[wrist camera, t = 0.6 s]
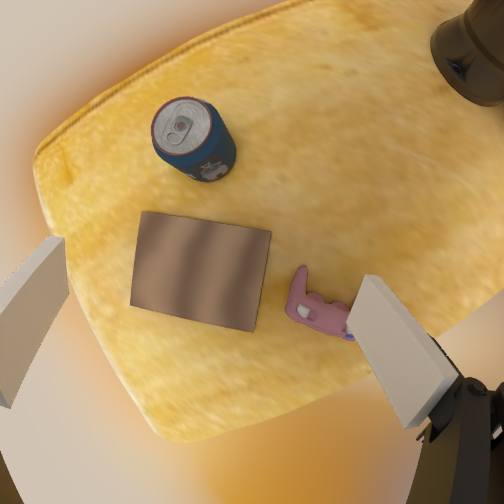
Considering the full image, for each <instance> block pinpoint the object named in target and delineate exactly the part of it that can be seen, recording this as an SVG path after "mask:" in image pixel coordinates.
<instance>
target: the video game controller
mask: <svg viewBox="0 0 504 504" xmlns="http://www.w3.org/2000/svg"><path fill="white" fill-rule="evenodd" d="M307 275H308V271H307V267H306V266H305V265H302V266H301V267H300V268H299V269H298V270H297V272H296V274H295V276H294V278H293V281H292V284H291V287H290V291H289V296H288V302H287V304H286V306H285V312H286V314H287V315H288V316H289V317H290V318H291V319H292V320H294V321H296V322H299V323H303V324H305V325H307V326H309V327H311V328H313V329H315V330H317V331H320V332H322V333H325V334H329V335H332V336H337V337H342V338H343V339H345V340H349V341H355V340H356V339H355V338H354V336H353V334H352V332H351V331H350V329H349V327H348V325H347V324H346V321H347V319H348V316H349V314H350V311H349V310H348V308H347V306H346V305H345V304H343V303H341V302H337V301H335V302H333V303H332V304H327V303H324V302H325V301H324V299H323V297H321V296H320V295H319V294H317V293H313V292H312V293H309V294H307V295H306V281H307Z"/></svg>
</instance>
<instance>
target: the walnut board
mask: <svg viewBox="0 0 504 504" xmlns="http://www.w3.org/2000/svg"><path fill="white" fill-rule="evenodd" d="M270 237H271V232H270V231H264V230H258V229H252V228H246V227H240V226H234V225H228V224H222V223H216V222H209V221H203V220H197V219H190V218H184V217H178V216H171V215H164V214H158V213H151V212H144V211H142V212H141V219H140V225H139V232H138V239H137V246H136V253H135V261H134V270H133V279H132V288H131V299H130V305H131V306H135V307H139V308H143V309H147V310H151V311H155V312H159V313H163V314H167V315H171V316H176V317H180V318H184V319H189V320H193V321H198V322H202V323H207V324H212V325H217V326H221V327H226V328H231V329H236V330H242V331H247V332H252V333H253V332H254V329H255V323H256V318H257V312H258V307H259V301H260V295H261V290H262V284H263V278H264V272H265V267H266V261H267V255H268V249H269V243H270Z"/></svg>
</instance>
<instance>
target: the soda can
mask: <svg viewBox="0 0 504 504" xmlns="http://www.w3.org/2000/svg"><path fill="white" fill-rule="evenodd" d="M151 136H152V142H153V146H154V149H155V151H156V153H157V154H158V155H159V156H160V157H161V158H162V159H163V160H164V161H166V162H167V163H169V164H170V165H172V166H174V167H175V168H177V169H178V170H180V171H181V172H183V173H184V174H186V175H188V176H189V177H191V178H192V179H194V180H197V181H202V182H209V181H214V180H217V179H219V178H221V177H222V176H224V175H225V174H226V173H227V172H228V171H229V170H230V168H231V167H232V165H233V163H234V160H235V156H236V148H235V144H234V141H233V139H232V137H231V135H230V134H229V132H228V130H227V128H226V126H225V124H224V122H223V120H222V119H221V117H220V115H219V113H218V111H217V110H216V109H215V108H214V107H213V106H212V105H211V104H210V103H208V102H206V101H204V100H201V99H197V98H193V97H178V98H175V99H172V100H170V101H168V102H167V103H165V104H164V105H163V106H162V107H161V108H160V109H159V110H158V111H157V113H156V114H155V116H154V118H153V121H152V125H151Z"/></svg>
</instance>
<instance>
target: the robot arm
mask: <svg viewBox="0 0 504 504" xmlns="http://www.w3.org/2000/svg"><path fill="white" fill-rule="evenodd" d="M431 51H432V55H433V58H434V60H435V62H436V64H437V66H438V68H439V70H440V71H441V73H442V74H443V76H444V77H445V78H446V80H447V81H448V82H449V83H450V84H451V85H452V86H453V87H454V88H455V89H456V90H457V91H458V92H459V93H460V94H461V95H463V96H464V97H465V98H467V99H469V100H470V101H472V102H474V103H476V104H479V105H482V106H488V107H491V106H496V105H498V104H499V103H501V102H503V101H504V0H474V1H473V2H472V4H471V5H470V6H469V8H468V9H467V10H466V11H465V12H464V13H463V14H461V15H459V16H457V17H455V18H453V19H451V20H448V21H445V22H443V23H442V24H441V25H440V26H439V27H438V28H437V29H436V31H435V32H434V34H433V35H432V38H431ZM68 295H69V288H68V279H67V269H66V257H65V241H64V237H57V236H48V237H47V238H46V239H45V240H44V241H43V242H42V243H41V244H40V245H39V246H38V247H37V248H36V249H35V250H34V251H33V252H32V253H31V254H30V255H29V256H28V257H27V258H26V259H25V261H23V263H22V264H21V265H20V266H19V267H18V268H17V269H16V270H15V271H14V272H13V273H12V275H11V276H10V277H9V278H8V279H7V280H6V281H5V282H4V284H3V285H2V286H1V287H0V406H3V407H6V408H9V409H11V406H12V404H13V401H14V399H15V397H16V395H17V392H18V390H19V388H20V386H21V384H22V381H23V379H24V377H25V375H26V373H27V371H28V369H29V367H30V365H31V363H32V361H33V359H34V357H35V354H36V353H37V351H38V349H39V347H40V345H41V343H42V341H43V339H44V337H45V335H46V334H47V332H48V330H49V328H50V326H51V324H52V323H53V321H54V319H55V317H56V316H57V314H58V312H59V310H60V309H61V307H62V305H63V303H64V302H65V300H66V298H67V297H68ZM346 324H347V325H348V327H349V329H350V331H351V332H352V334H353V336H354V338H355V339H356V341H357V343H358V345H359V346H360V348H361V350H362V352H363V354H364V355H365V357H366V359H367V361H368V363H369V364H370V366H371V368H372V370H373V372H374V373H375V375H376V377H377V379H378V381H379V383H380V384H381V386H382V388H383V390H384V392H385V394H386V396H387V398H388V400H389V401H390V403H391V405H392V407H393V409H394V411H395V413H396V415H397V417H398V418H399V421H400V422H401V424H402V426H403V428H404V429H408V428H413V427H416V426H419V425H420V424H421V423H422V422H423V421H424V419H425V418H426V417H427V416H428V417H429V418H430V420H431V422H430V423H429V424H428V425H427V426H426V428H425V429H424V430H423V431H422V432H421V433H420V434H419V435H418V437H417V439H416V440H417V441H418V440H419V439H420V438H421V437H422V436H425V437H424V440H423V441H422V443H423V445H422V449H421V454H420V458H419V462H418V465H417V469H416V473H415V477H414V480H413V483H412V486H411V490H410V493H409V496H408V499H407V502H406V504H504V382H502V383H501V384H500V385H499V387H498V388H497V389H496V391H490V390H488V389H487V388H486V386H485V385H484V384H483V383H482V382H480V381H479V380H477V379H475V378H472V377H468V378H464V376H463V375H462V374H461V372H460V371H459V370H458V368H457V367H456V366H455V365H454V363H453V362H452V360H451V359H450V358H449V357H448V356H446V355H447V354H446V353H445V352H444V350H443V349H441V346H440V345H439V344H438V343H437V341H436V340H435V339H434V338H433V337H431V336H430V335H429V334H428V333H426V331H425V330H424V329H423V328H422V326H421V325H420V324H419V323H418V321H417V320H416V319H415V318H414V317H413V315H412V314H411V313H410V312H409V310H408V309H407V308H406V307H405V306H404V304H403V303H402V302H401V301H400V300H399V299H398V297H397V296H396V295H395V294H394V293H393V291H392V290H391V289H390V288H389V287H388V286H387V285H386V283H385V282H384V281H383V280H382V279H381V278H380V276H378V275H369V274H365V277H364V279H363V282H362V284H361V287H360V289H359V292H358V294H357V297H356V299H355V302H354V304H353V307H352V309H351V312H350V314H349V316H348V319H347V321H346ZM500 426H501V427H502V430H503V431H502V432H501V434H499V436H498V437H497V438H495V439H494V438H493V434H494V432H495V431H496V430H497V429H498V428H499V427H500ZM0 504H24V503H23V501H22V499H21V497H20V495H19V493H18V491H17V489H16V487H15V485H14V482H13V480H12V478H11V476H10V473H9V471H8V469H7V466H6V464H5V462H4V459H3V457H2V454H1V451H0Z"/></svg>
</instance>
